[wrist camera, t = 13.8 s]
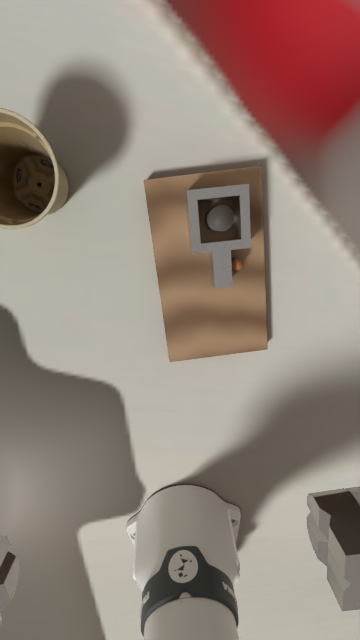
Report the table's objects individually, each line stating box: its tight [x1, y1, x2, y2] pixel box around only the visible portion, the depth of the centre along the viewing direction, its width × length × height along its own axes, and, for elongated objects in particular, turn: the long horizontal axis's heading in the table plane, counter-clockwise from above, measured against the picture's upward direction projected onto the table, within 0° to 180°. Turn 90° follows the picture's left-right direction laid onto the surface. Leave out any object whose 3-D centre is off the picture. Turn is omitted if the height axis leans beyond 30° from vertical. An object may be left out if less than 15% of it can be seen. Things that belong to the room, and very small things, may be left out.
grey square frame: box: [185, 184, 251, 288], centre depth 33 cm, size 10×6×3 cm, turn 6°
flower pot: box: [0, 108, 69, 229], centre depth 29 cm, size 9×9×9 cm
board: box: [144, 166, 267, 362], centre depth 35 cm, size 22×13×6 cm, turn 7°
